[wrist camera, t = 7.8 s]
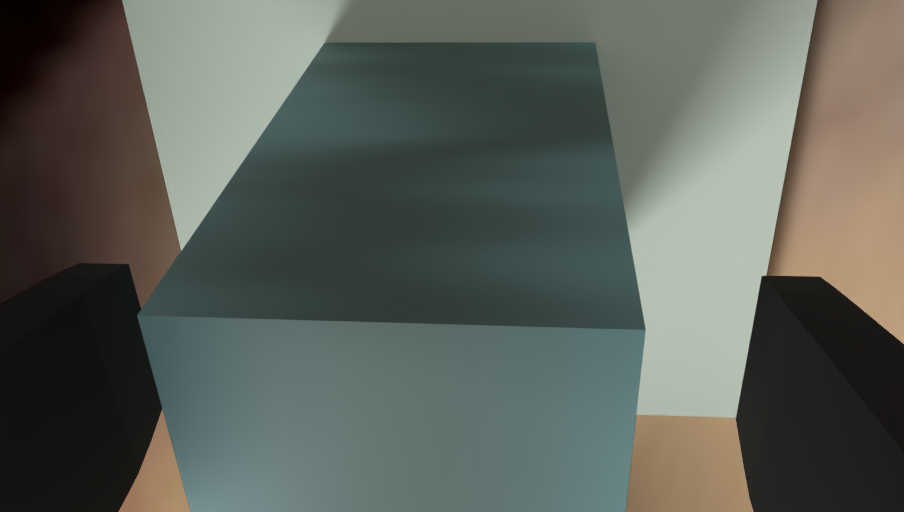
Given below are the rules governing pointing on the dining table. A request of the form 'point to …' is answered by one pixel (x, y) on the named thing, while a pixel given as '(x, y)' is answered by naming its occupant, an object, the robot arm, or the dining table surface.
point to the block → (411, 294)
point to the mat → (630, 117)
